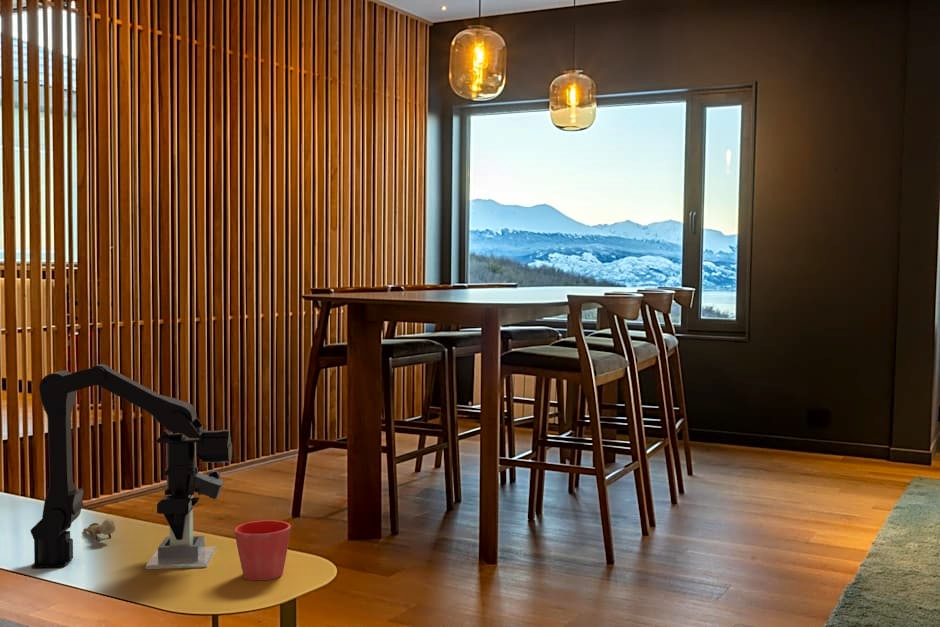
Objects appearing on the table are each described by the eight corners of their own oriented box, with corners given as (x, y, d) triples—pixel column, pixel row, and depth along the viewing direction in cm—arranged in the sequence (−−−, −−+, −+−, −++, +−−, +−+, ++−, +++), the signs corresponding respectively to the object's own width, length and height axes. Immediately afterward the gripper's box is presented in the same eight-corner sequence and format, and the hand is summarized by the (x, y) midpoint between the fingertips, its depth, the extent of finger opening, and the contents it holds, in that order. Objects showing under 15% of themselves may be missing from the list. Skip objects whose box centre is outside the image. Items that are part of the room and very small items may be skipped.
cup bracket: (145, 569, 189) (145, 550, 189) (158, 551, 201) (158, 534, 200) (206, 567, 190) (206, 548, 190) (215, 549, 202) (215, 532, 202)
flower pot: (235, 568, 189) (234, 521, 189) (289, 564, 192) (289, 518, 192) (234, 585, 179) (234, 535, 179) (292, 581, 182) (291, 532, 181)
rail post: (170, 554, 193) (169, 511, 193) (173, 548, 197) (173, 506, 197) (189, 553, 194) (189, 510, 193) (193, 547, 198) (192, 506, 197)
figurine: (80, 541, 215) (104, 540, 204) (79, 521, 216) (102, 519, 205) (96, 538, 218) (121, 537, 207) (95, 519, 219) (119, 517, 208)
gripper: (213, 471, 186) (213, 548, 187) (226, 453, 205) (226, 524, 205) (155, 472, 185) (156, 550, 186) (174, 454, 203) (175, 525, 204)
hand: (181, 536), depth 195 cm, fingers closed on rail post, 4 cm apart
